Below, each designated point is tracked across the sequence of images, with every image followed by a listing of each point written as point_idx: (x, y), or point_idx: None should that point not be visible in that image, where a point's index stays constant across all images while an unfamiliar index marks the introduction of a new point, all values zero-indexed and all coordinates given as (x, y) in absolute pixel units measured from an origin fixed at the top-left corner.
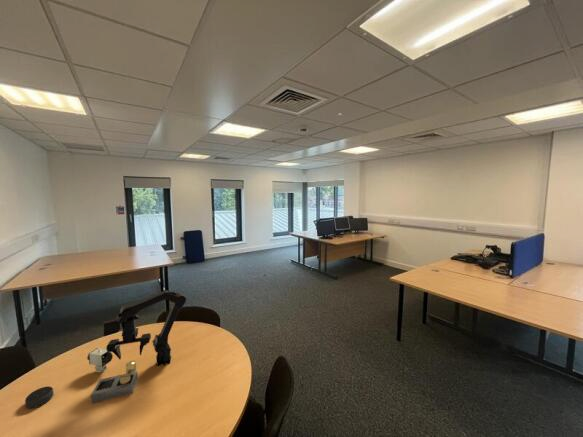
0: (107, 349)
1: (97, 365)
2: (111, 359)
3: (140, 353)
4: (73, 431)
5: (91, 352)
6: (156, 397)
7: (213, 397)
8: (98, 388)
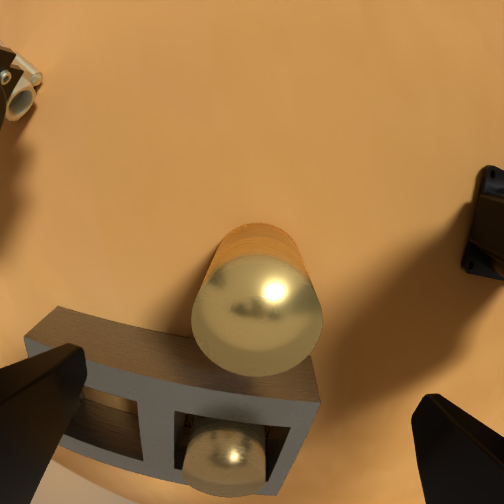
0: None
1: None
2: (3, 102)
3: (427, 463)
4: (95, 483)
5: None
6: (370, 489)
7: None
8: None
